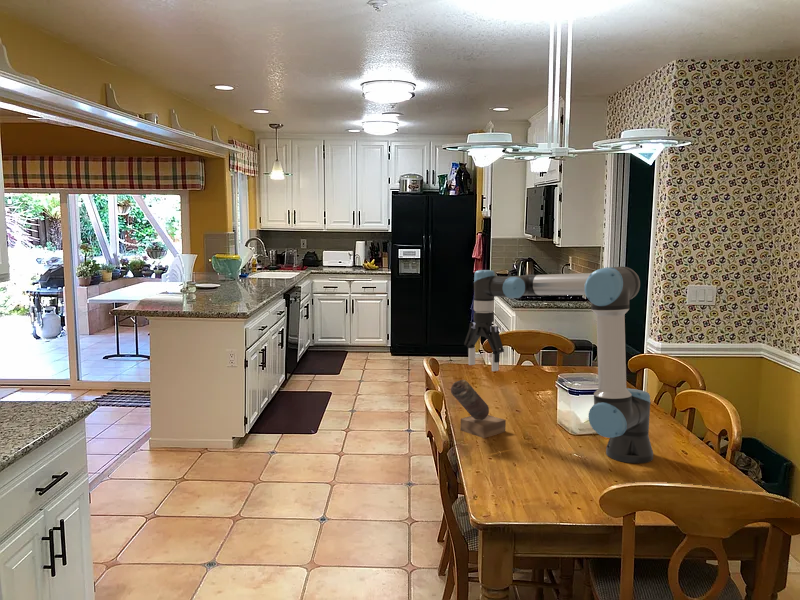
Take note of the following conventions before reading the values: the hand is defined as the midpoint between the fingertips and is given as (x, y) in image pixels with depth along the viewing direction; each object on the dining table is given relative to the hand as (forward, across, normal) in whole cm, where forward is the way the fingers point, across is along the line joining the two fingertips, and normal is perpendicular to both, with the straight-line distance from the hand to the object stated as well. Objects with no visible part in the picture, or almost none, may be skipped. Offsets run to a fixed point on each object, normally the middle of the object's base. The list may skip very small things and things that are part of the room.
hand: (483, 367), depth 244 cm
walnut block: (+25, 0, 0) cm, 25 cm away
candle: (+17, +1, 0) cm, 17 cm away
